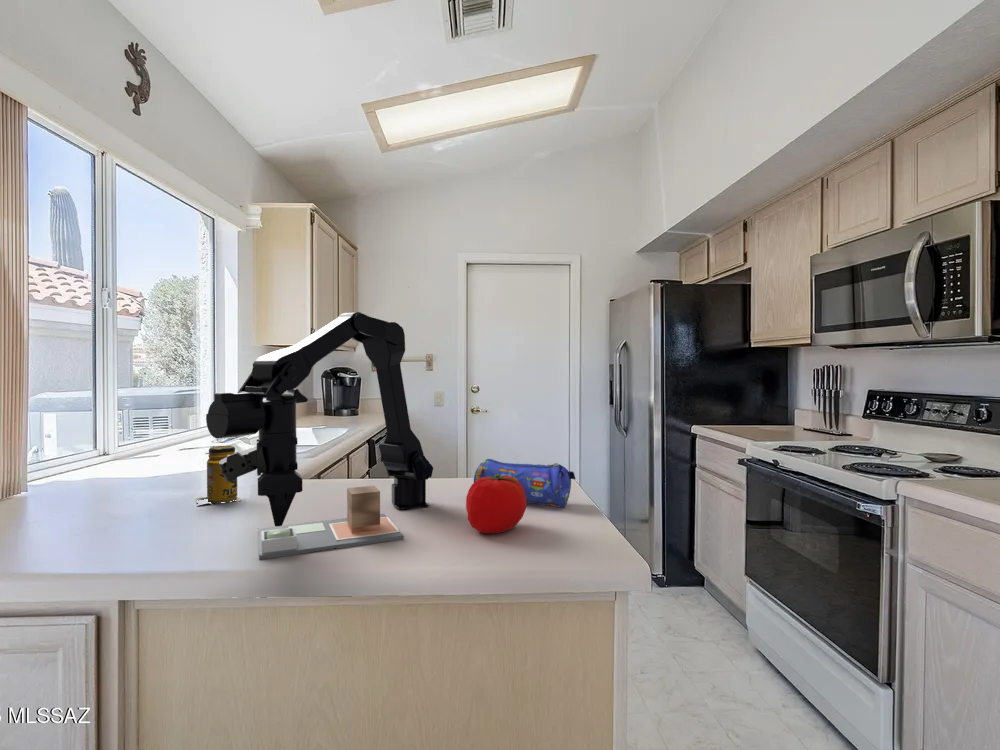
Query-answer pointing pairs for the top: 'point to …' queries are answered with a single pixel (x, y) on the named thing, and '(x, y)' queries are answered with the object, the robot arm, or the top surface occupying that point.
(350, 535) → the picture board
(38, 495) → the top surface
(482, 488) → the tomato
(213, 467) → the condiment
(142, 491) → the top surface
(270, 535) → the button
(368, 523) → the stamp
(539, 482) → the pencil case
